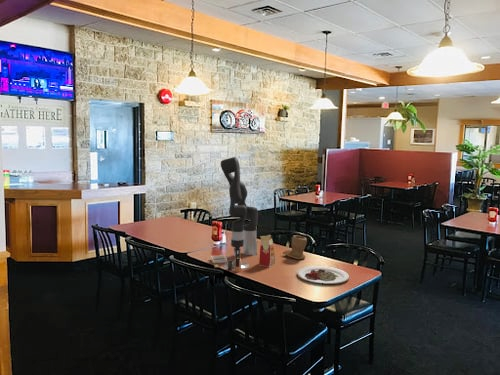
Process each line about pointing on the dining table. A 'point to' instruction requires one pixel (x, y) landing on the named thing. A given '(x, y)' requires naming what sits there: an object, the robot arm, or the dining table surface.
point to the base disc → (243, 266)
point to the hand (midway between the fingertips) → (236, 264)
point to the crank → (231, 264)
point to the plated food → (323, 274)
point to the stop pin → (238, 269)
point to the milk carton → (266, 252)
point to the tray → (219, 258)
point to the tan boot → (297, 247)
